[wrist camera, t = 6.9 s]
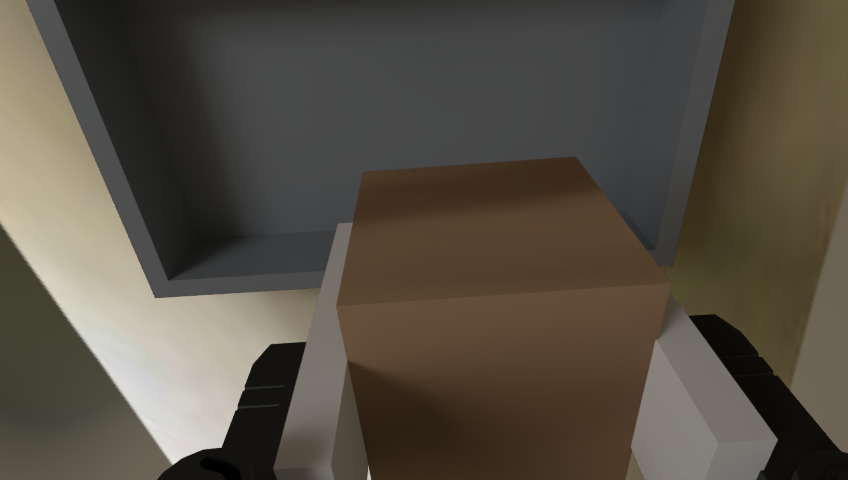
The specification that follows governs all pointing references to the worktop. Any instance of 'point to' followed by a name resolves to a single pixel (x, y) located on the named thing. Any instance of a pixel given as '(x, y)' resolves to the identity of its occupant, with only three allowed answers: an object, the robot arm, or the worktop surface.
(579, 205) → the walnut cube
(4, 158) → the worktop surface
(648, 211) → the tray
